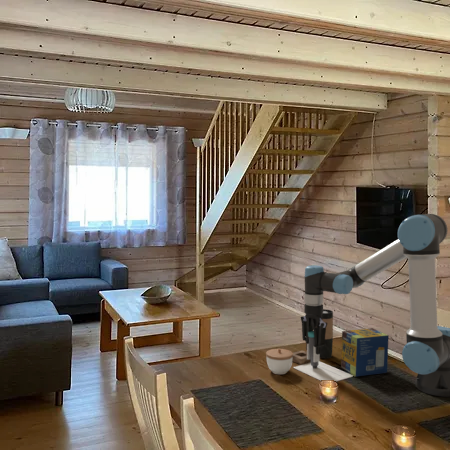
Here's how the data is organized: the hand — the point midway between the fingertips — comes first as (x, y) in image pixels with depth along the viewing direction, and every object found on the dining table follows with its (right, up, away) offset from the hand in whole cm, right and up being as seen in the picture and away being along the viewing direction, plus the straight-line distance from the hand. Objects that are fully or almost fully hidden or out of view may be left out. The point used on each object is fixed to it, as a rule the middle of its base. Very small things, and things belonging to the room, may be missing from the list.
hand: (313, 360), depth 201 cm
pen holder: (-3, -3, +10) cm, 11 cm away
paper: (+3, -4, -3) cm, 6 cm away
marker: (+1, -3, +1) cm, 3 cm away
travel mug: (+8, -3, +16) cm, 18 cm away
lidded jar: (-14, -4, -3) cm, 15 cm away
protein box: (+20, -4, -2) cm, 21 cm away
